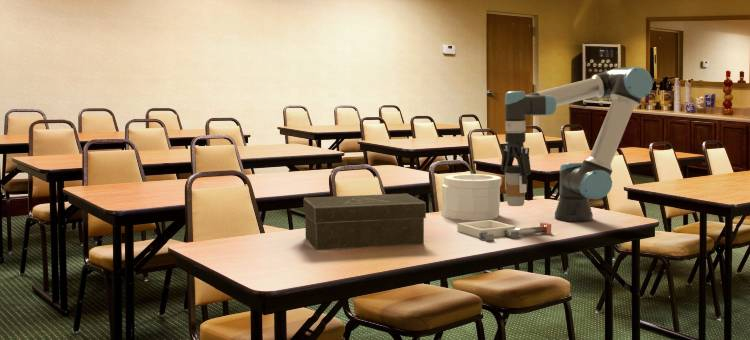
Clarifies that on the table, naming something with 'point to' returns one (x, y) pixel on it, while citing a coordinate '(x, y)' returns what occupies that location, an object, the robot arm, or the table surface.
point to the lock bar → (532, 230)
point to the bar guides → (490, 237)
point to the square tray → (484, 228)
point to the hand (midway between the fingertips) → (515, 191)
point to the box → (364, 221)
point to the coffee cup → (513, 186)
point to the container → (471, 196)
